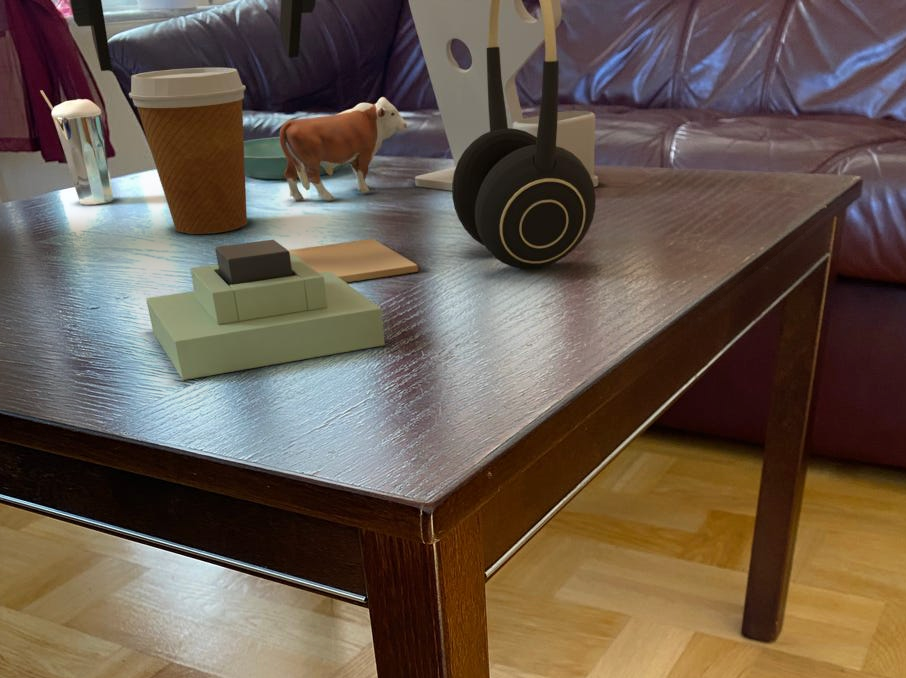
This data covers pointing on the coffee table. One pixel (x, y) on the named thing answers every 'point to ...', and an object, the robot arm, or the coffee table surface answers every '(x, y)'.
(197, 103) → the disposable coffee cup
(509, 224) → the headphones
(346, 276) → the coaster
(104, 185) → the milkshake
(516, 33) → the phone holder
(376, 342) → the tiered green pedestal
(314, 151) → the bull figurine
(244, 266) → the key
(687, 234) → the coffee table surface
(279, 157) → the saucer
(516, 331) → the coffee table surface
